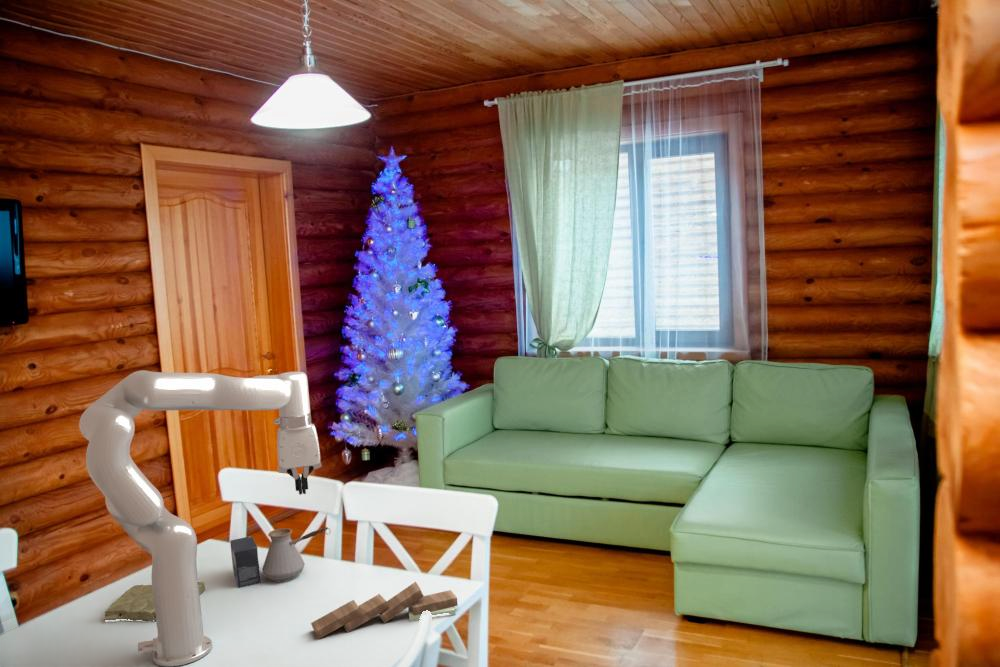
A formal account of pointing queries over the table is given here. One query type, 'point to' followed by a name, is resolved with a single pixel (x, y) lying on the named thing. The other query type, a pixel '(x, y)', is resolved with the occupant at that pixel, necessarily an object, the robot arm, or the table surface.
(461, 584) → the table surface
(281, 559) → the coffee pot
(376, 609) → the domino
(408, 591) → the domino
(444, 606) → the domino
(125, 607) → the decorative tile
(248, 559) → the small box
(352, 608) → the domino
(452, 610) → the domino
